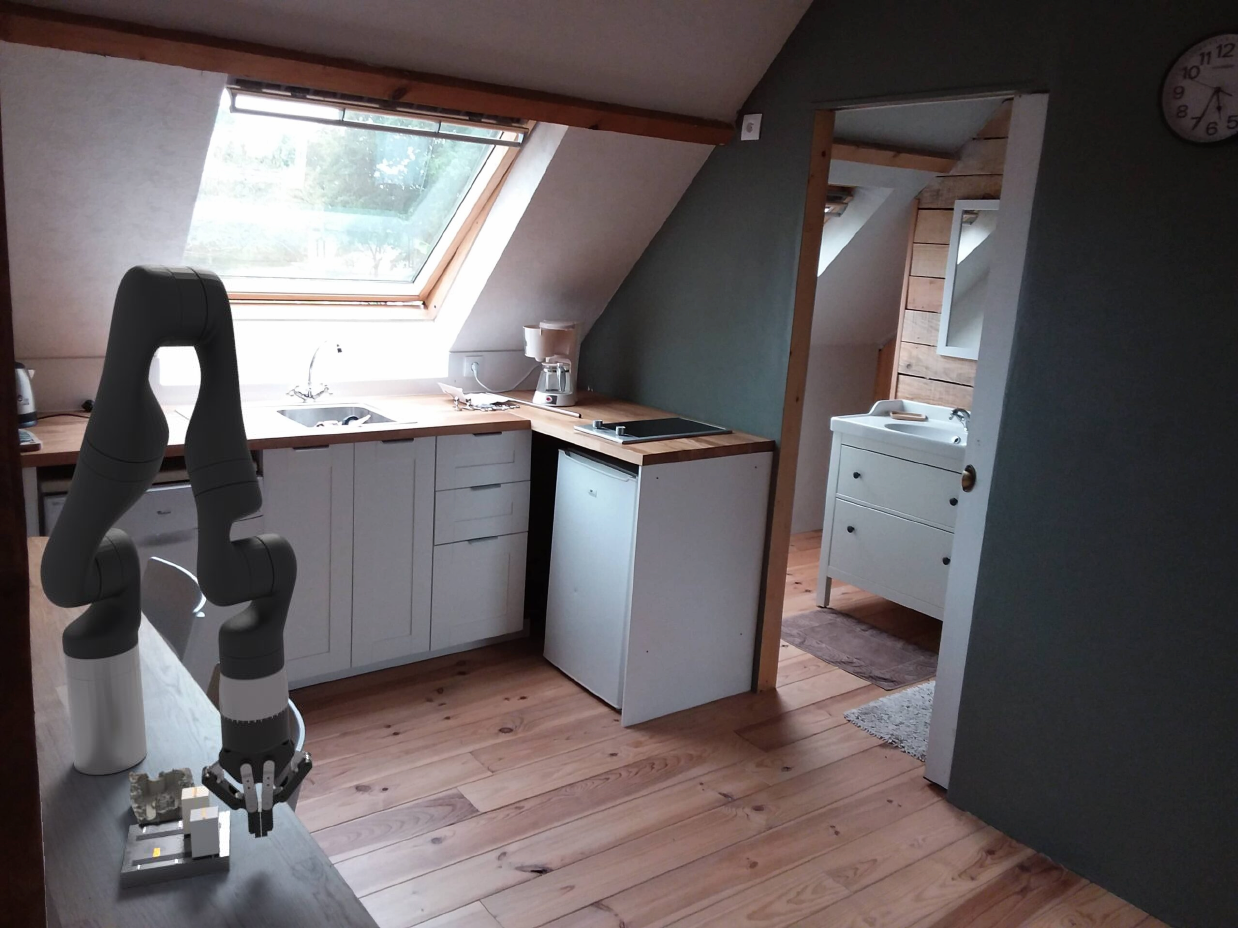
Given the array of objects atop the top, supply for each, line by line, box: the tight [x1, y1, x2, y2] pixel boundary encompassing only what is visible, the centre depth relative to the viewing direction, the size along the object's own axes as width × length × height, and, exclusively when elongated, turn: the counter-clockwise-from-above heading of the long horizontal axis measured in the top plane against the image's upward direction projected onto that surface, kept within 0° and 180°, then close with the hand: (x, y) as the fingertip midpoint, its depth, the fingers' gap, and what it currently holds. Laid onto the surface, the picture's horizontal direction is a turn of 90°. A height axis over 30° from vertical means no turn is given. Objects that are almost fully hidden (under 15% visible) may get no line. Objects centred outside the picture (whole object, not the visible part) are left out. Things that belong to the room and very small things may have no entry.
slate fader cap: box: [190, 805, 220, 858], centre depth 117 cm, size 2×3×5 cm
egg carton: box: [128, 767, 196, 824], centre depth 128 cm, size 11×8×4 cm
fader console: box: [120, 810, 232, 889], centre depth 120 cm, size 10×12×2 cm
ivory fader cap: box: [181, 785, 211, 834], centre depth 122 cm, size 2×3×5 cm
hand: (261, 833), depth 120 cm, fingers closed
